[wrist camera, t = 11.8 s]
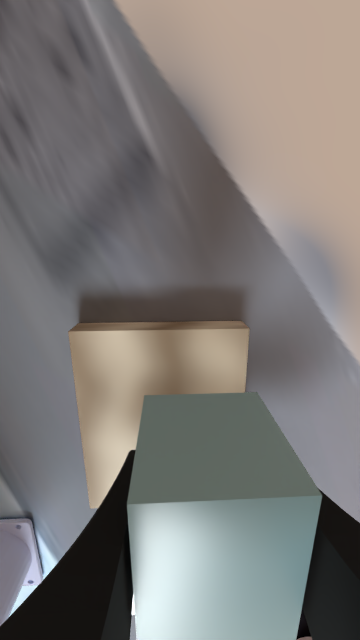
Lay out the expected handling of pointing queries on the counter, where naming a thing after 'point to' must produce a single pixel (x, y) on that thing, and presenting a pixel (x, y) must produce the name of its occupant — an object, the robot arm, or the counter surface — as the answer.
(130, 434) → the tan flat wooden board
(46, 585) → the robot arm
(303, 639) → the smoothie
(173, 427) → the pale green block
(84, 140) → the counter surface
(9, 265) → the counter surface
